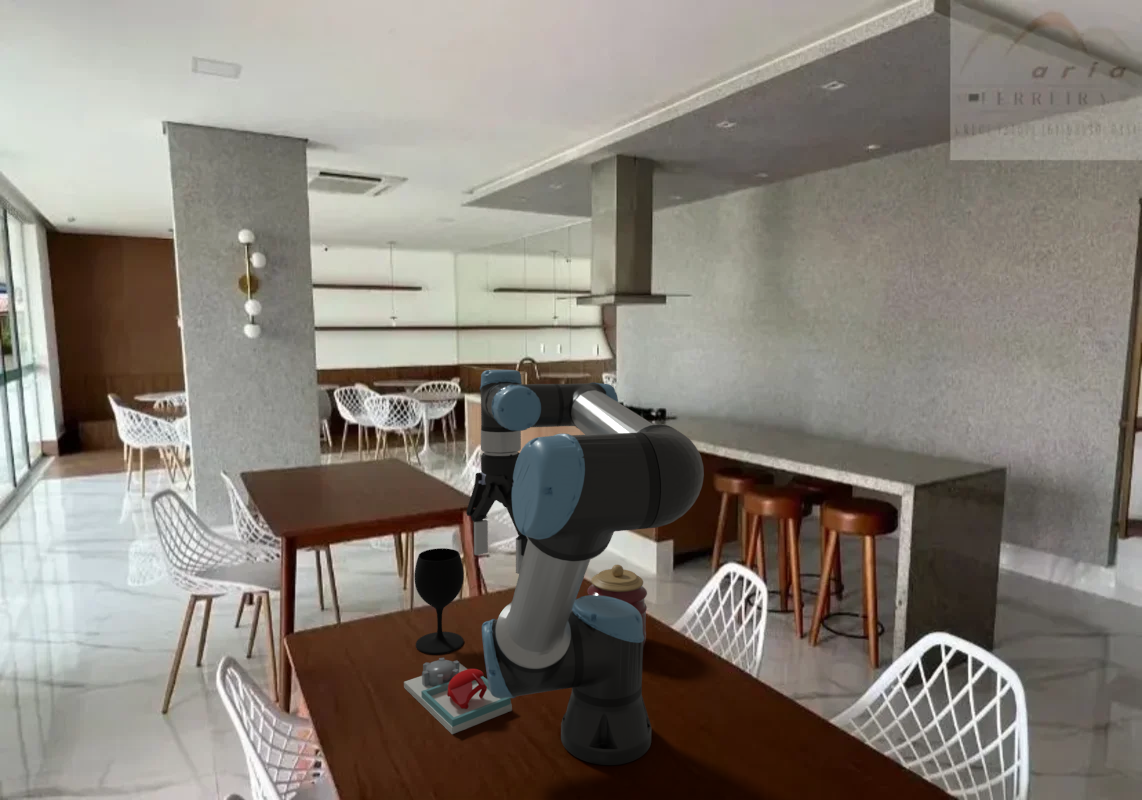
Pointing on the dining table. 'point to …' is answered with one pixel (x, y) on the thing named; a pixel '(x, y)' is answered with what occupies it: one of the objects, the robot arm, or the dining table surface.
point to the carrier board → (443, 708)
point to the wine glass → (439, 595)
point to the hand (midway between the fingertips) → (501, 562)
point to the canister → (621, 589)
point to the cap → (466, 687)
